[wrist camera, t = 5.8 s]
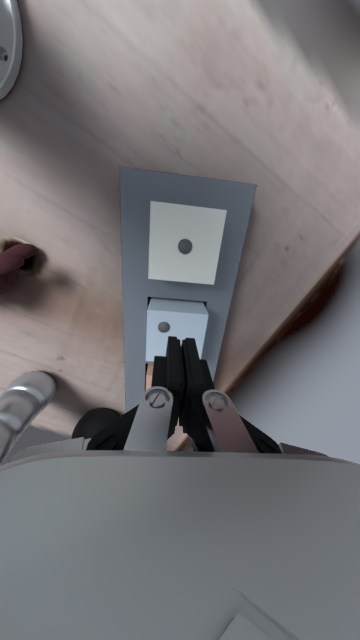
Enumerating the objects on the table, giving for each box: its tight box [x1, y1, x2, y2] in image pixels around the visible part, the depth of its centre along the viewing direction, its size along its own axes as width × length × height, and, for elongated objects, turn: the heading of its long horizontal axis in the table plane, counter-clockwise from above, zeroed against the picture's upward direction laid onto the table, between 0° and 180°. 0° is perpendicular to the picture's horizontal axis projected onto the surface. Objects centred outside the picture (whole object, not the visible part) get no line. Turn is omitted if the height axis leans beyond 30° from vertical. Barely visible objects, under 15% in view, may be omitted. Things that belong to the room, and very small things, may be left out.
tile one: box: [148, 201, 227, 285], centre depth 21 cm, size 7×7×5 cm
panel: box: [119, 166, 257, 412], centre depth 28 cm, size 34×14×3 cm, turn 174°
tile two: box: [146, 298, 209, 361], centre depth 25 cm, size 7×7×5 cm
